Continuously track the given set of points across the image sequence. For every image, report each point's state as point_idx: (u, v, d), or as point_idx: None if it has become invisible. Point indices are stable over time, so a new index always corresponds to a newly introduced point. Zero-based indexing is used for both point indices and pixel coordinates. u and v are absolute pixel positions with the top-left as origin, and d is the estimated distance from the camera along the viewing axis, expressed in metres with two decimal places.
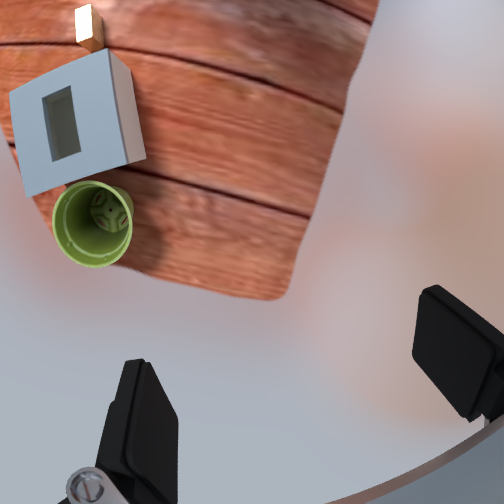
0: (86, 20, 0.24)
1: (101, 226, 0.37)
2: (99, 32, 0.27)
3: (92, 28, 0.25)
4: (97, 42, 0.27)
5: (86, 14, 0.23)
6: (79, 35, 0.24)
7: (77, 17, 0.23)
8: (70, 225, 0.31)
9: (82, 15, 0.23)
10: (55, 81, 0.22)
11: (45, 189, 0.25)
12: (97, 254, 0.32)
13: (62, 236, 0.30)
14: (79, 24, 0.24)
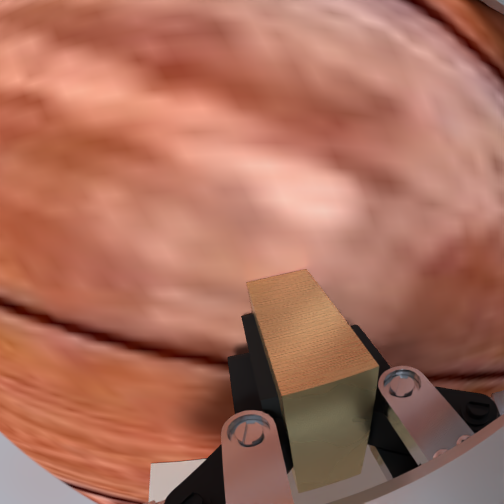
0: (347, 439, 0.06)
1: None
2: None
3: None
4: None
5: (351, 417, 0.06)
6: (310, 480, 0.07)
7: (301, 432, 0.06)
8: None
9: (329, 422, 0.06)
10: None
11: None
12: None
13: None
14: (309, 454, 0.06)
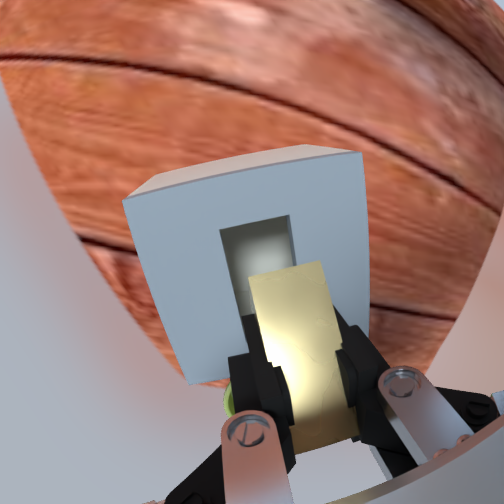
0: (322, 350, 0.08)
1: None
2: None
3: None
4: None
5: (315, 316, 0.08)
6: (299, 425, 0.07)
7: (271, 326, 0.08)
8: None
9: (294, 318, 0.08)
10: (253, 200, 0.15)
11: (228, 376, 0.18)
12: None
13: (231, 405, 0.23)
14: (286, 366, 0.08)
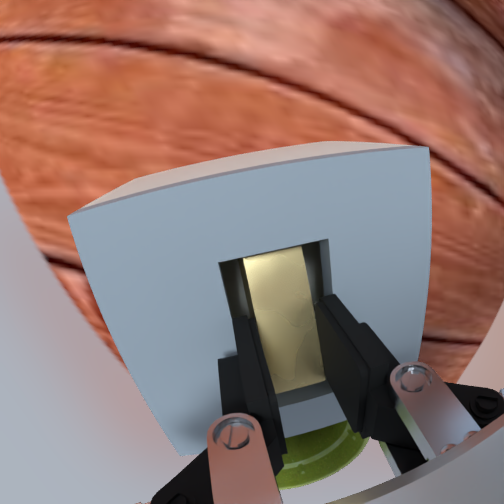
0: (298, 317, 0.10)
1: None
2: None
3: (317, 346, 0.11)
4: None
5: (294, 291, 0.10)
6: (279, 372, 0.10)
7: (260, 298, 0.10)
8: None
9: (278, 291, 0.10)
10: (273, 216, 0.09)
11: None
12: None
13: None
14: (270, 327, 0.10)
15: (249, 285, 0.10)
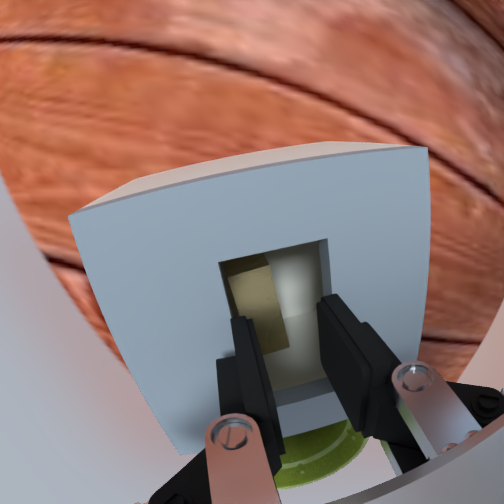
0: (268, 311, 0.15)
1: None
2: None
3: None
4: None
5: (265, 295, 0.15)
6: None
7: (241, 301, 0.15)
8: None
9: (254, 296, 0.15)
10: (273, 216, 0.09)
11: None
12: (281, 462, 0.19)
13: None
14: None
15: (233, 293, 0.15)
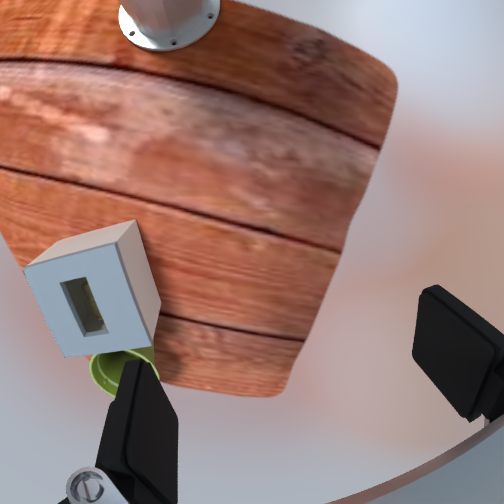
0: None
1: (126, 351, 0.43)
2: None
3: None
4: None
5: None
6: (97, 314, 0.34)
7: (87, 295, 0.33)
8: (102, 364, 0.37)
9: (91, 294, 0.33)
10: (69, 270, 0.28)
11: (81, 354, 0.31)
12: None
13: (98, 377, 0.35)
14: (92, 303, 0.34)
15: (84, 292, 0.33)
